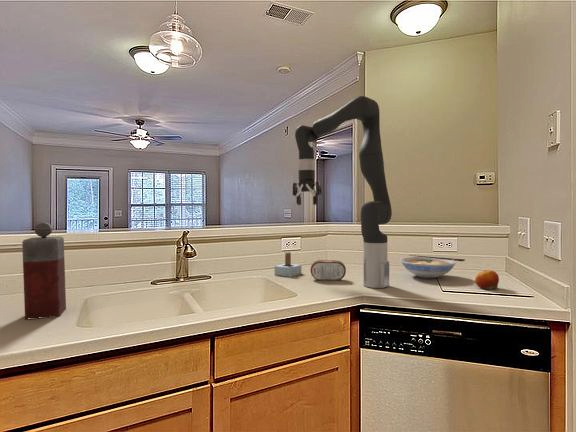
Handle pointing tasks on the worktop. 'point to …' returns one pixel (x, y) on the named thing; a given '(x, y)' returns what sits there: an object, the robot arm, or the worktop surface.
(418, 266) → the ramen bowl
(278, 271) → the light blue square box
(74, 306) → the worktop surface
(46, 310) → the decanter
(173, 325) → the worktop surface
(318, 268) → the tin
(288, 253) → the dowel
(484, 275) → the fruit
